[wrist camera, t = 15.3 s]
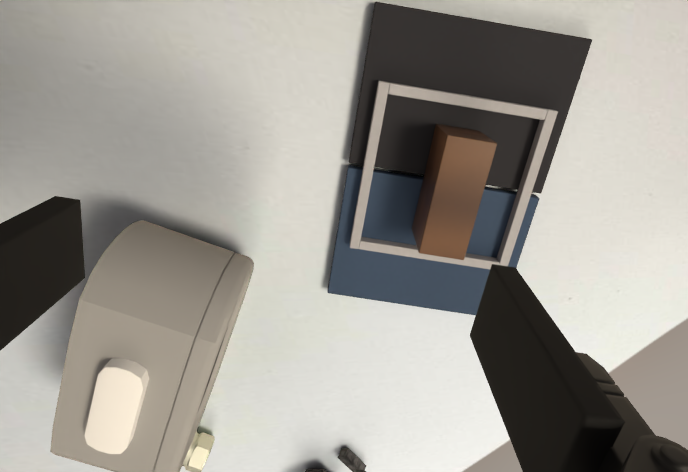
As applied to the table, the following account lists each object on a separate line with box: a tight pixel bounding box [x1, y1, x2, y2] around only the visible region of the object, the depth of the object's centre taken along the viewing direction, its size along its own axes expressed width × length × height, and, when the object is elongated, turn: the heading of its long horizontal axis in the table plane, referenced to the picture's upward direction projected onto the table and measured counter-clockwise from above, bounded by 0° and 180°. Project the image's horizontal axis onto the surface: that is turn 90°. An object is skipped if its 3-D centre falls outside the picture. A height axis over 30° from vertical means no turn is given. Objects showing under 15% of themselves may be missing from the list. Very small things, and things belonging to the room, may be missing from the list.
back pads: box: [328, 2, 592, 315], centre depth 38 cm, size 24×16×2 cm, turn 171°
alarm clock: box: [50, 220, 254, 472], centre depth 38 cm, size 21×10×13 cm, turn 159°
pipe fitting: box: [182, 431, 214, 472], centre depth 48 cm, size 8×4×7 cm
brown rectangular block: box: [412, 124, 497, 260], centre depth 36 cm, size 9×4×5 cm, turn 171°
